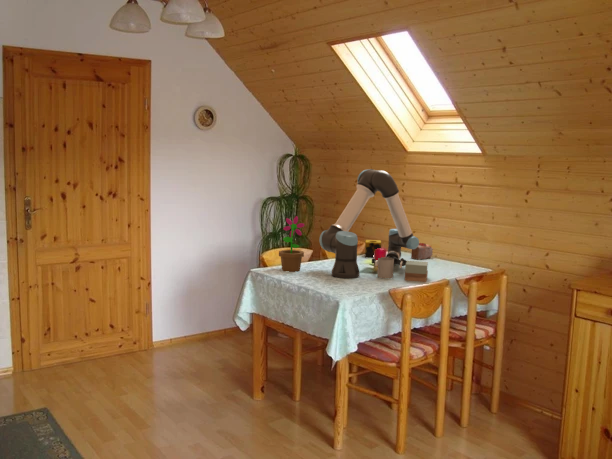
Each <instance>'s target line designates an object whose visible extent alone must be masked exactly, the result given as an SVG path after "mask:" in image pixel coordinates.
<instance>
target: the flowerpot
mask: <svg viewBox="0 0 612 459" xmlns="http://www.w3.org/2000/svg"><path fill="white" fill-rule="evenodd" d="M285 221H286V223H287V224H288V225H287V226H286V225H285V226H284V227H283V230H284V231H286V232H287V231H289V236H284V237H283V238H282V240H283V242H284V243H290V249H283V250H282V249H281V250H279V251H278V256H279V257H280V262H281V263H280V264H281V271H283V272H286V271H289V272H288V273H294V272H295V271H297V272H300V271H301V264H302V259H303V257H304V254H305V252H304V250H299V249H298V248H300V245H298V244H295V243H293V240H294V238H293V237H294V236H295V233H296V234H297V236H302V234H303V233H302V231H301V230H300V228H303V227H305V223H303V222H302V223H301V222H300V223H298V222H299V217H298V216H297V215H296V216H295V217H294V218H293V222H292V220H291V219H290V218H288V217H286V218H285ZM293 248H294V249H293ZM295 273H296V272H295Z"/></svg>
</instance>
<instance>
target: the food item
mask: <svg viewBox="0 0 612 459" xmlns="http://www.w3.org/2000/svg"><path fill="white" fill-rule="evenodd" d="M433 250H434V248H433V247H432V246H431V245H430V244H426V243H423V242H422V243H421V242H419V245H418V247H417V248H416V249H411V254H410V258H411V259H413V260H416V261H418V260H426V259H429V258H431V257H432V256H433Z"/></svg>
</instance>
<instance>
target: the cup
mask: <svg viewBox="0 0 612 459" xmlns="http://www.w3.org/2000/svg"><path fill="white" fill-rule="evenodd" d="M394 266H395V265H394V259H393V258H388V257H386V256H383V257H382V256H381V258H378V265H377V276H378V277H377V278H379V277H380V279H385V278H389V279H393V278H394Z"/></svg>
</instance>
